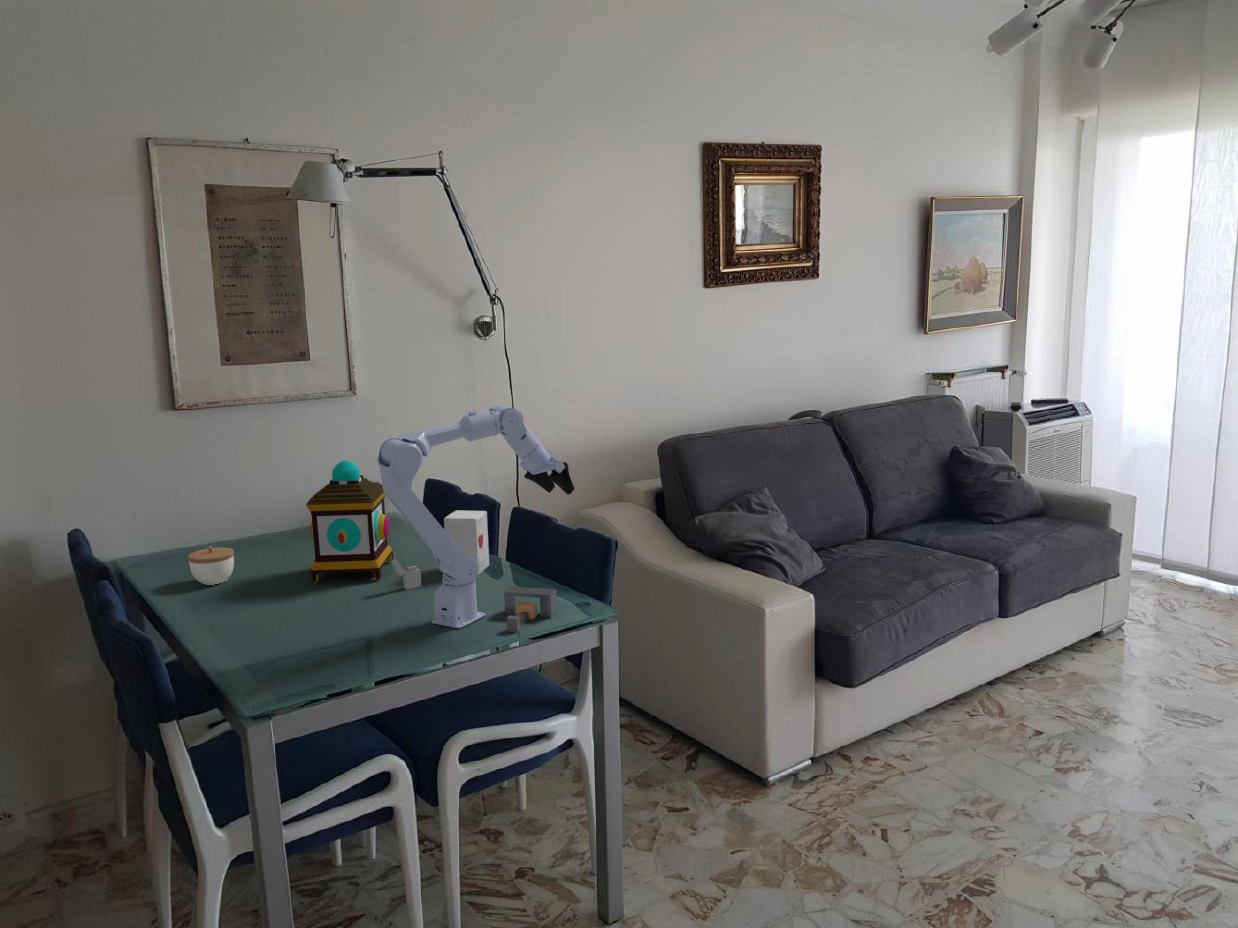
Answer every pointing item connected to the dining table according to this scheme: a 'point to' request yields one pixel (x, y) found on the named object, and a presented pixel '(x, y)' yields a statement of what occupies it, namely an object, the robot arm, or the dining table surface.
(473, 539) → the supplement box
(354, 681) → the dining table surface
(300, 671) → the dining table surface
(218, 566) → the lidded jar
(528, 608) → the plug
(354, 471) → the decorative lantern
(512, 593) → the housing
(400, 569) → the lighter
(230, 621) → the dining table surface
